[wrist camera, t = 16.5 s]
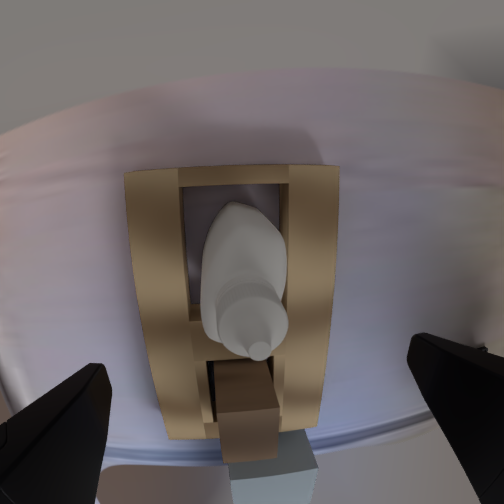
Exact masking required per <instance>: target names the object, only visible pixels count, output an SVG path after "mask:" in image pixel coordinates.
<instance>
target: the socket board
mask: <svg viewBox="0 0 504 504" xmlns="http://www.w3.org/2000/svg"><path fill="white" fill-rule="evenodd" d="M272 183H279V232H280V234H281V235H282V237H283V239H284V242H285V247H286V256H287V274H286V283H285V288H284V292H283V296H282V299H281V303H282V305H283V307H284V309H285V311H286V313H287V316H288V320H289V321H288V323H289V324H288V331H287V332H286V333H287V334H286V335H285V336H286V337H285V338H284V340H283V341H282V343H280V345H279V346H277V348H275V349H274V350H272V351H271V354H270V356H269V357H268V364H267V365H268V369H269V372H270V375H271V379H272V382H273V385H274V389H275V392H276V396H277V399H278V402H279V406H280V419H279V432H285V431H292V430H299V429H305V428H311V427H316V426H317V422H318V416H319V410H320V404H321V397H322V390H323V383H324V376H325V369H326V361H327V353H328V344H329V336H330V326H331V316H332V306H333V294H334V282H335V268H336V253H337V235H338V211H339V166H331V165H300V164H264V165H222V166H199V167H182V168H167V169H153V170H141V171H132V172H127V173H124V184H125V199H126V211H127V222H128V232H129V242H130V250H131V258H132V266H133V274H134V281H135V287H136V294H137V300H138V306H139V312H140V318H141V323H142V329H143V334H144V339H145V344H146V349H147V354H148V359H149V363H150V368H151V372H152V377H153V381H154V385H155V389H156V393H157V397H158V401H159V405H160V409H161V413H162V416H163V420H164V424H165V427H166V431H167V434H168V438H169V440H182V439H213V438H220V436H219V428H218V420H217V412H216V401H212V396H211V387H210V379H209V370H208V361H213V360H229V359H242V358H250V357H246V356H240V355H237V354H234V352H231V351H230V350H228V349H227V348H226V347H225V346H224V345H223V343H220V342H216V341H214V340H212V339H210V338H209V337H208V336H207V334H206V333H205V331H204V328H203V324H202V318H201V307H200V304H191V300H190V289H189V278H188V266H187V254H186V240H185V225H184V208H183V188H182V187H190V186H209V185H233V184H272Z"/></svg>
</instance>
